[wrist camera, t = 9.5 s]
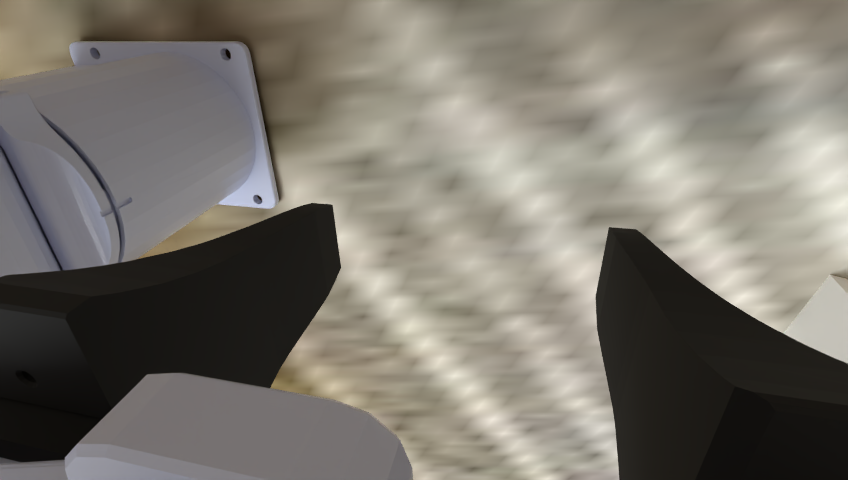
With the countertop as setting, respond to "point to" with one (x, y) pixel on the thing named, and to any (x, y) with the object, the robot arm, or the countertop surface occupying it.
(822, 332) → the milk
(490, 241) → the countertop surface
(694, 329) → the robot arm
